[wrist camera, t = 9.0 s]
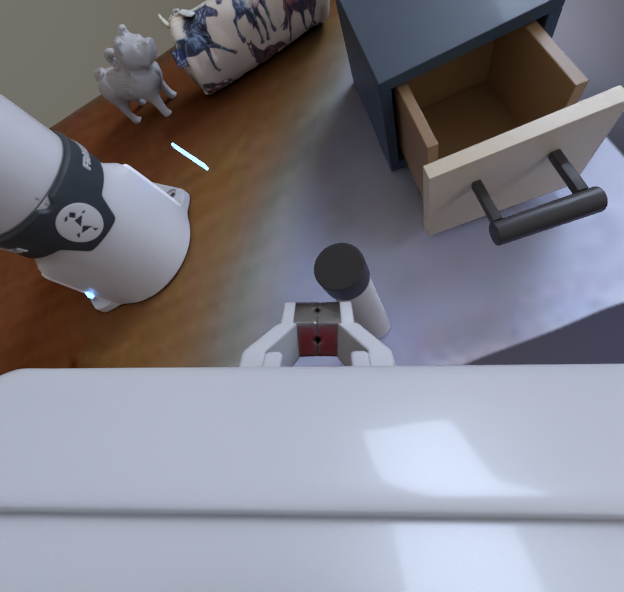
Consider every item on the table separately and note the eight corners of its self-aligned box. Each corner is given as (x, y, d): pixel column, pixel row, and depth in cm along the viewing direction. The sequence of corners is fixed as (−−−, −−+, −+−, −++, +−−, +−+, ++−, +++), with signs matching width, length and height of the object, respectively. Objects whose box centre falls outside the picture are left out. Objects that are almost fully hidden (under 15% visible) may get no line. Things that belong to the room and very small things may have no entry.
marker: (356, 330, 28) (304, 276, 16) (371, 306, 28) (331, 234, 16) (381, 345, 27) (345, 299, 15) (397, 320, 27) (374, 255, 15)
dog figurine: (190, 111, 47) (130, 37, 37) (128, 127, 51) (60, 65, 42) (197, 85, 49) (141, 7, 39) (136, 103, 53) (73, 37, 43)
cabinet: (525, 116, 29) (568, -9, 20) (391, 171, 32) (378, 84, 23) (462, 27, 35) (474, -100, 26) (353, 81, 38) (331, -16, 29)
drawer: (610, 235, 23) (693, 161, 16) (449, 286, 25) (459, 242, 18) (498, 78, 30) (521, -22, 23) (382, 130, 33) (370, 56, 26)
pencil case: (208, 112, 45) (157, 42, 37) (199, 78, 49) (150, 8, 40) (344, 26, 41) (322, -74, 32) (323, -3, 45) (299, -101, 36)
